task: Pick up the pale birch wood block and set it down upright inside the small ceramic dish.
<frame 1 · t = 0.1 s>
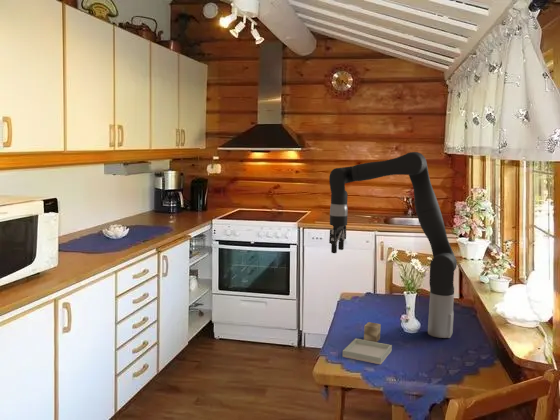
hand: (337, 251, 239), 29 cm above the table, tool pointing down, fingers open, 8 cm apart
dish: (367, 353, 201), on the table
birch block: (371, 339, 215), on the table
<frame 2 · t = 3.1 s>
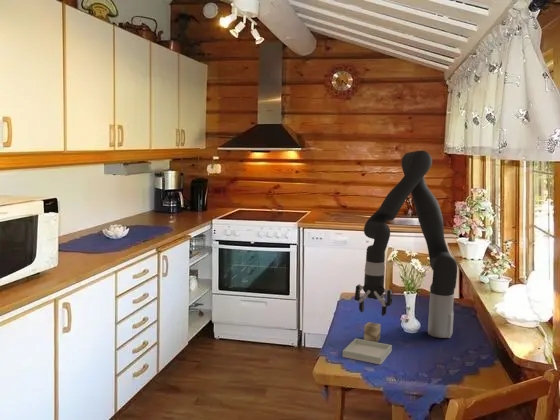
hand: (372, 313, 214), 10 cm above the table, tool pointing down, fingers open, 8 cm apart
nothing on the table moved.
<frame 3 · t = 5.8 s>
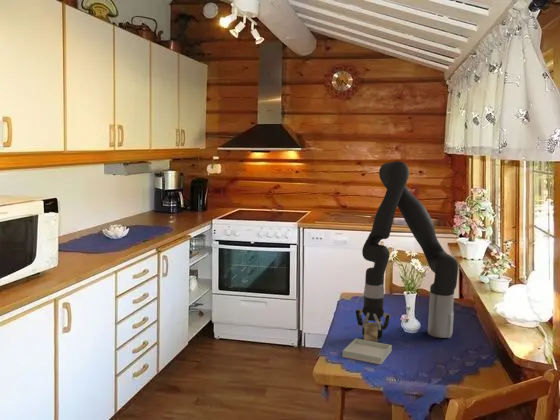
hand: (372, 337, 215), 1 cm above the table, tool pointing down, fingers closed on birch block, 5 cm apart
birch block: (372, 339, 215), on the table, touching gripper
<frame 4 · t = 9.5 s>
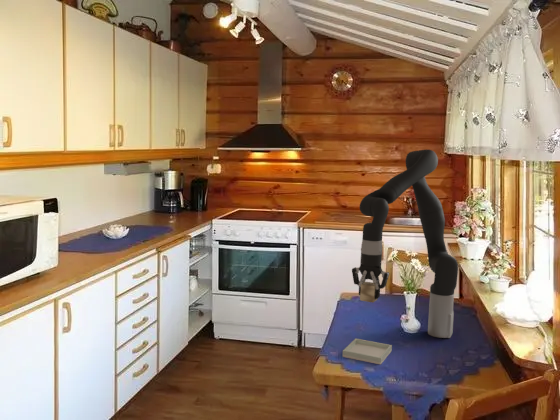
hand: (368, 297, 202), 20 cm above the table, tool pointing down, fingers closed on birch block, 5 cm apart
birch block: (368, 299, 202), point 19 cm above the table, touching gripper
when the fingers open (3 cm above the table, at t = 13.2 s): birch block drops 1 cm, resting on dish.
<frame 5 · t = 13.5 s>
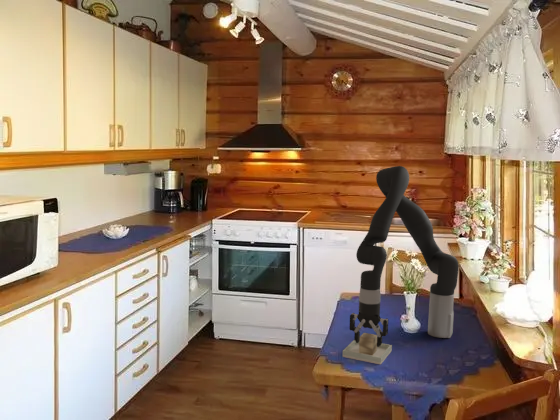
hand: (367, 344, 200), 4 cm above the table, tool pointing down, fingers open, 7 cm apart
birch block: (367, 351, 201), point 1 cm above the table, touching dish
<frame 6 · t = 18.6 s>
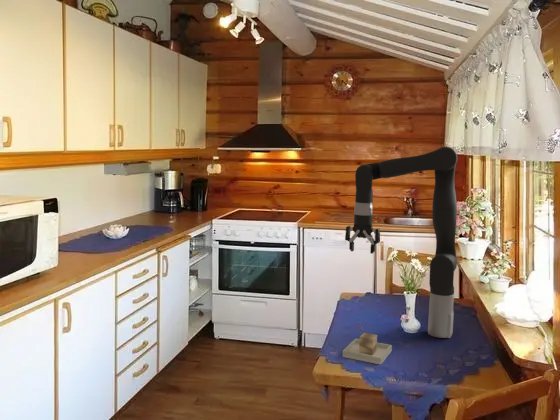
hand: (361, 252, 228), 31 cm above the table, tool pointing down, fingers open, 8 cm apart
nothing on the table moved.
at the end: birch block inside the target area on the dish (0.1 cm from its centre), point 0.8 cm above the dish's base; birch block tilted 0°; the gripper is holding nothing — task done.
